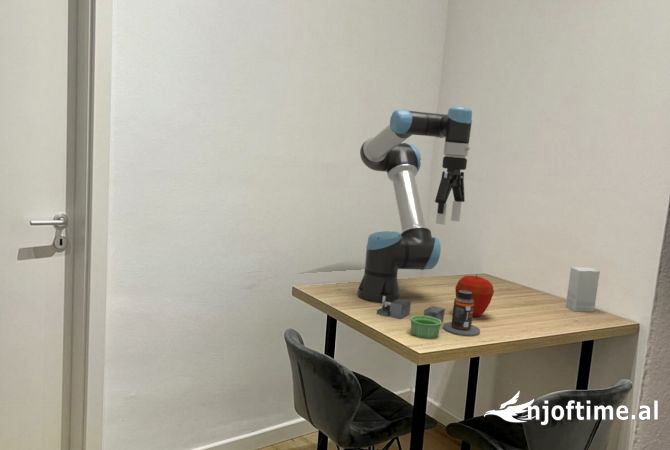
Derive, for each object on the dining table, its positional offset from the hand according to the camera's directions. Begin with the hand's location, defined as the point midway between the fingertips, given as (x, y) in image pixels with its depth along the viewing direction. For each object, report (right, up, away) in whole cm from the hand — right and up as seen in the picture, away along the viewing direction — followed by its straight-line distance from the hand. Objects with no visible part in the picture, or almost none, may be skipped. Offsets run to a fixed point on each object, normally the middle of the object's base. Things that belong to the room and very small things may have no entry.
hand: (447, 222), depth 191 cm
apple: (+9, -31, +7) cm, 33 cm away
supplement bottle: (+2, -32, -11) cm, 34 cm away
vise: (-13, -30, -3) cm, 33 cm away
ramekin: (-10, -33, -18) cm, 39 cm away
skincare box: (+54, -32, +27) cm, 68 cm away
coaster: (+2, -33, -11) cm, 35 cm away
